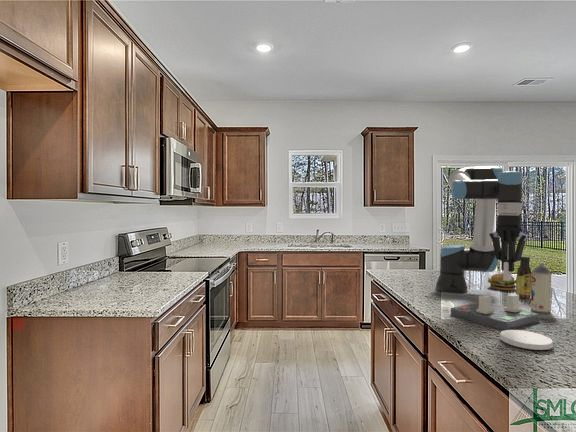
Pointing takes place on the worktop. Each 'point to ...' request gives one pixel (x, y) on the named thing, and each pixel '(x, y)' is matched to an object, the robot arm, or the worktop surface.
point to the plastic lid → (526, 339)
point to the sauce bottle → (524, 278)
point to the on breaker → (512, 303)
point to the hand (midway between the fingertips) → (507, 280)
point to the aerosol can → (541, 290)
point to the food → (501, 283)
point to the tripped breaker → (485, 305)
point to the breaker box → (495, 316)
